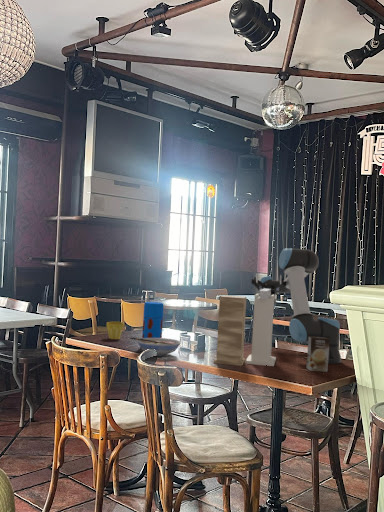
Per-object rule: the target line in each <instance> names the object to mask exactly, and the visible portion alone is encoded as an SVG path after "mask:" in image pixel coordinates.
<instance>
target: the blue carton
mask: <svg viewBox="0 0 384 512" xmlns="http://www.w3.org/2000/svg"><path fill="white" fill-rule="evenodd" d="M163 321H164V303H163V302H158V301H157V302H155V301H146V302H144V305H143V318H142V335H141V338H163V337H162V336H163Z"/></svg>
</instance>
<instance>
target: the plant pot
mask: <svg viewBox="0 0 384 512" xmlns="http://www.w3.org/2000/svg"><path fill="white" fill-rule="evenodd" d="M124 326H125V323H124V322H121V321H107V322H106V329H107V334H108V338H109V339H110V340H120V339H121V338H122V337H121V336H122V333H123V330H124Z"/></svg>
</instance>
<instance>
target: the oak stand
mask: <svg viewBox="0 0 384 512" xmlns="http://www.w3.org/2000/svg"><path fill="white" fill-rule="evenodd" d="M246 308H247V296H242V295H241V296H239V295H237V296H236V295H226V294H225V295H224V294H223V295H221V296H219V307H218V322H217V323H218V324H217V341H216V357H215V358H214V360H213V364H216V365H227V366H238V367H239V366H240V367H242V366H244V363H246V358H245V357H244V347H245V346H244V345H245V331H246V330H245V328H246V326H245V325H246V312H247V311H246V310H247V309H246Z"/></svg>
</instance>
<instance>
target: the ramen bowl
mask: <svg viewBox="0 0 384 512" xmlns="http://www.w3.org/2000/svg"><path fill="white" fill-rule="evenodd" d="M130 340H136V341H137V343H138V345H139V347H140V348H141V350H142V351H144V352H146V351H145V350H147V349H155V350H156V352H157V356H156V357H164V356H166V355H169V354H171V353H173V352H175V351H176V350H177V349H178V348H179V347H180V344H181V340H177V339H175V338H174V339H173V338H165V337H162V338H142V337H141V338H138V337H130Z"/></svg>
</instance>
